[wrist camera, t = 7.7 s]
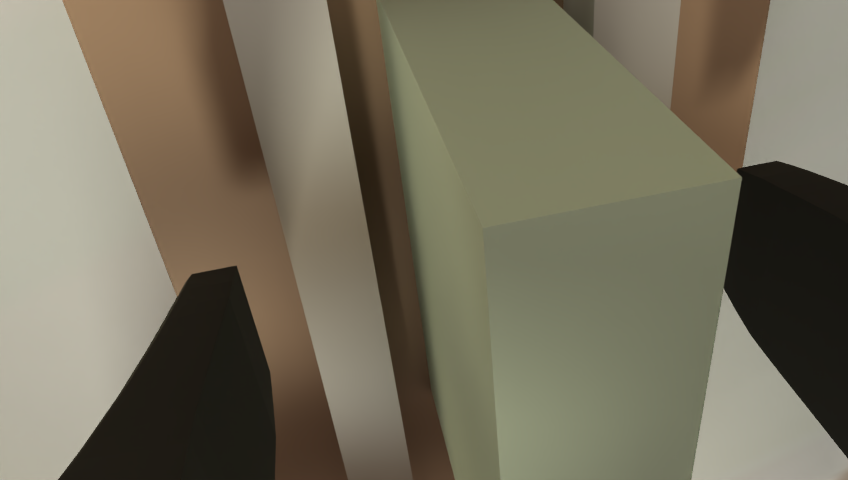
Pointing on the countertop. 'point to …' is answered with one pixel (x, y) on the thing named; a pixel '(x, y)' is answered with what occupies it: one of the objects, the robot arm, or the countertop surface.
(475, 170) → the pale green rectangular block
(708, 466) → the countertop surface
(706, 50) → the track board
